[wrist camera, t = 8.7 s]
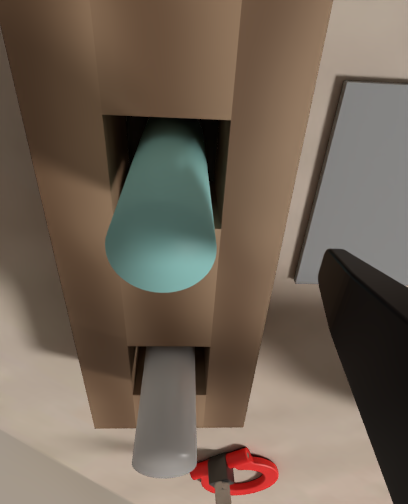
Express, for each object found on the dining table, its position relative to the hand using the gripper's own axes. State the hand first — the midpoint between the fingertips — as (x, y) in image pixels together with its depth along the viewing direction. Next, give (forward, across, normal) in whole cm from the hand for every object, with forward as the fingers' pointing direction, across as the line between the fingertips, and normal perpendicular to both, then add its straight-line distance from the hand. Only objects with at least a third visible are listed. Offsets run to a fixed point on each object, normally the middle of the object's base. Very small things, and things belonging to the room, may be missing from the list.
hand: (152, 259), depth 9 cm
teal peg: (+11, 0, 0) cm, 11 cm away
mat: (+10, -14, +3) cm, 18 cm away
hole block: (+10, 0, +6) cm, 12 cm away
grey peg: (+10, 0, +12) cm, 16 cm away
